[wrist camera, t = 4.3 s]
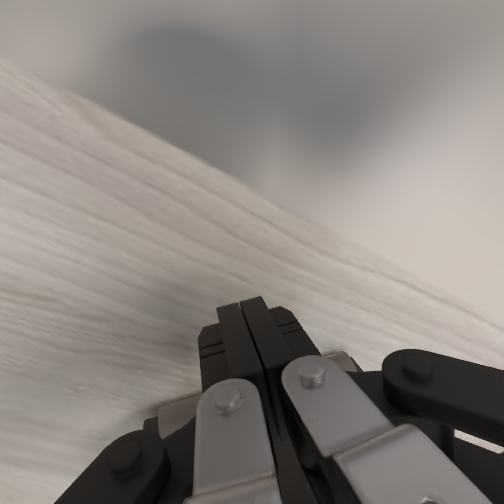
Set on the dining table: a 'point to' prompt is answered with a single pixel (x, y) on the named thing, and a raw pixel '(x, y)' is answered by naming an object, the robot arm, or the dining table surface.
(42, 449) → the dining table surface
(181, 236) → the dining table surface
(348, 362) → the drawer
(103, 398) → the dining table surface
